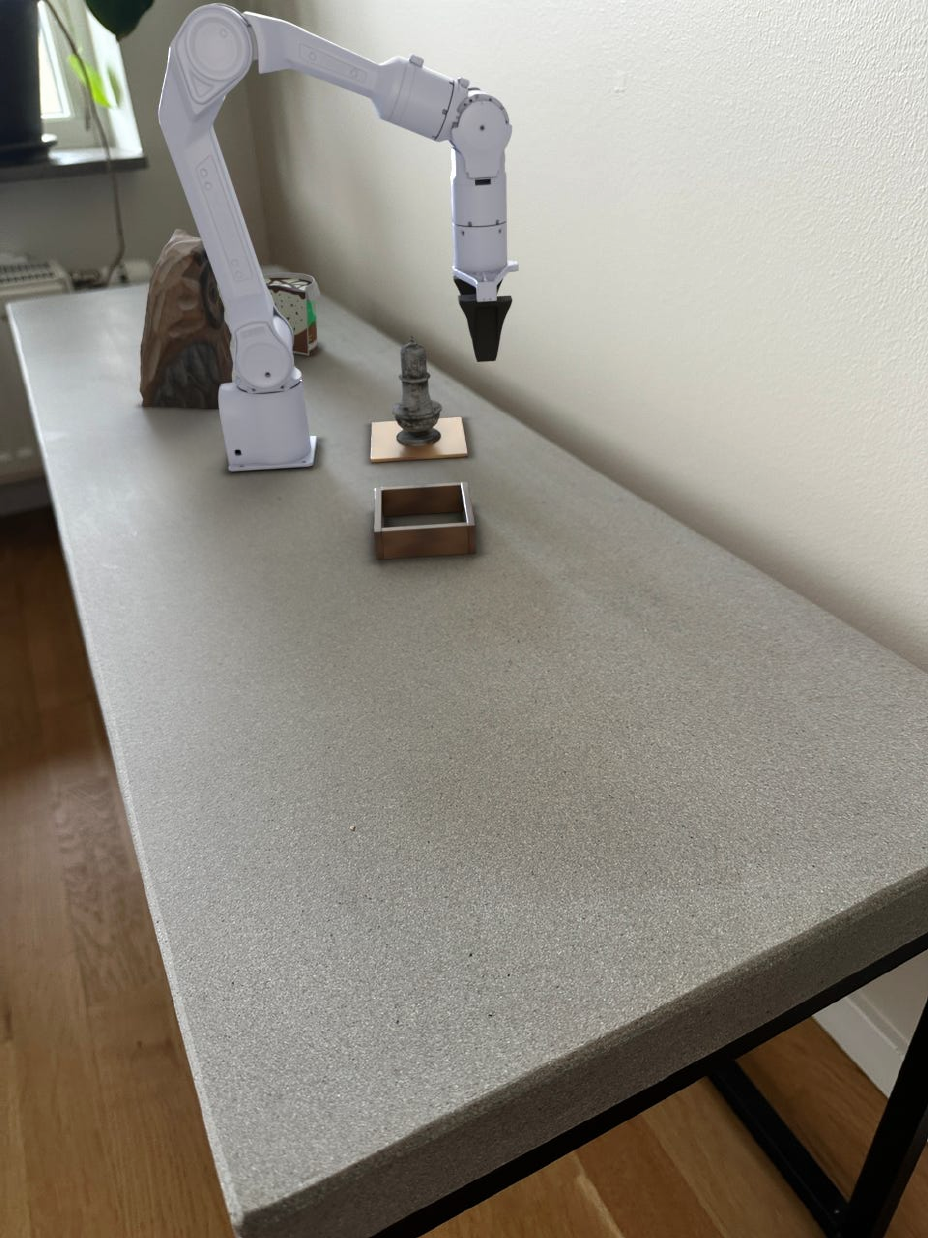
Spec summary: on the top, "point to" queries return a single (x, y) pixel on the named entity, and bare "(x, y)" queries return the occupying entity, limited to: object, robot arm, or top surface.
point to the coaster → (392, 450)
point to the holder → (424, 536)
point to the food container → (296, 307)
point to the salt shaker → (416, 399)
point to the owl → (184, 330)
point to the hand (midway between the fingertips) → (483, 349)
